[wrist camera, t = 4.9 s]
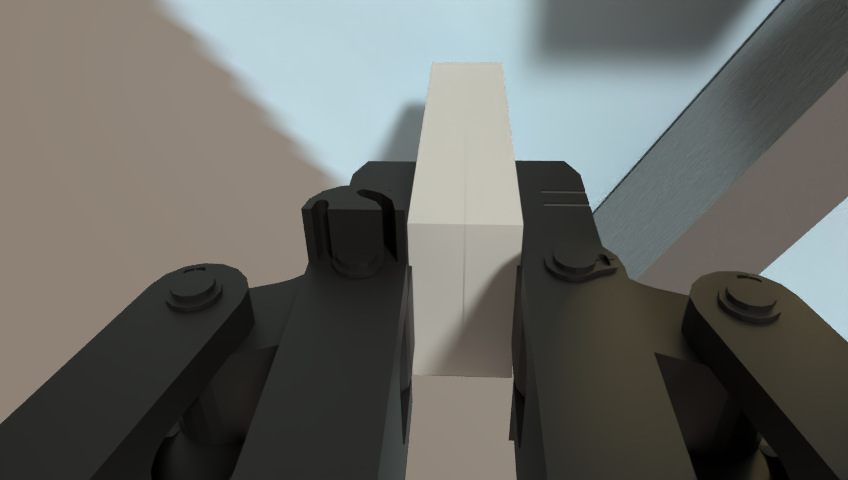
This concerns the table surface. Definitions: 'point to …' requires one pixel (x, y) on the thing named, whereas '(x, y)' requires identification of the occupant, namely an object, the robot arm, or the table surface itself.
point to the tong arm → (742, 158)
